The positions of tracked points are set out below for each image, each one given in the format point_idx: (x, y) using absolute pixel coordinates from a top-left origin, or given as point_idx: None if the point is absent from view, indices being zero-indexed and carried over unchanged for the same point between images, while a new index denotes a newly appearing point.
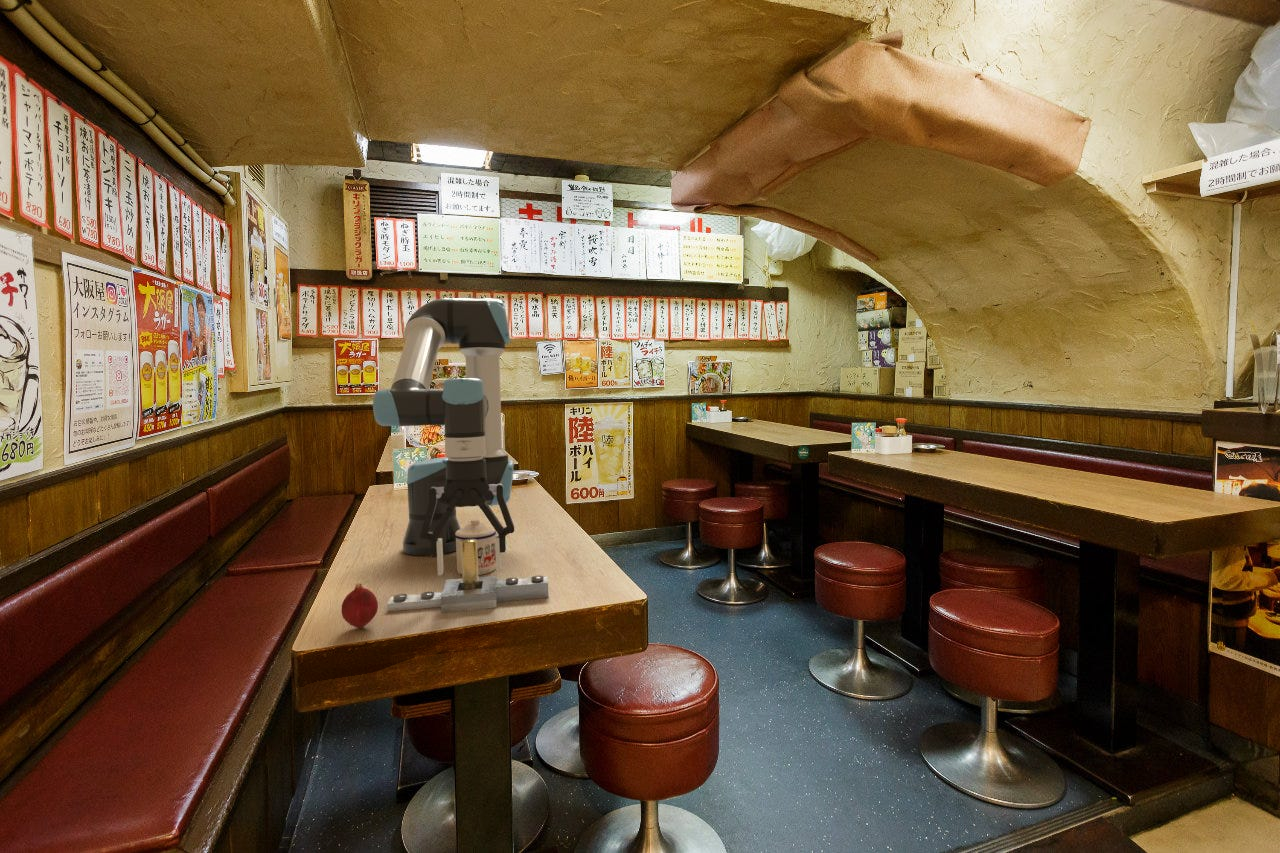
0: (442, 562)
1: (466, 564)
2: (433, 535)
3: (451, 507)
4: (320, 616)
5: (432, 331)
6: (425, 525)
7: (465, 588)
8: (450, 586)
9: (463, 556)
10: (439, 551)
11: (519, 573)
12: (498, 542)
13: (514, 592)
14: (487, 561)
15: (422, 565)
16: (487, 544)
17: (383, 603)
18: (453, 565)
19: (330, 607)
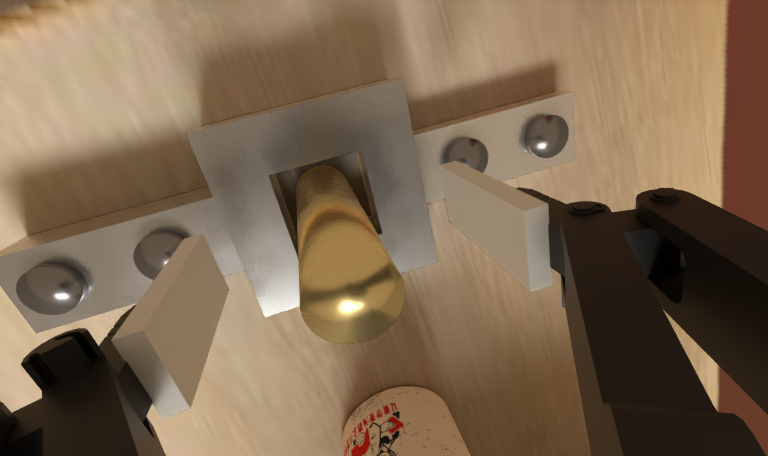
0: (463, 213)
1: (340, 205)
2: (598, 219)
3: (680, 438)
4: (719, 57)
5: None
6: (733, 229)
7: (338, 179)
8: (402, 195)
9: (363, 222)
10: (498, 192)
11: (253, 426)
12: (132, 317)
13: (148, 209)
14: (359, 440)
15: (547, 429)
16: None
17: (581, 160)
18: (470, 444)
19: (704, 127)
